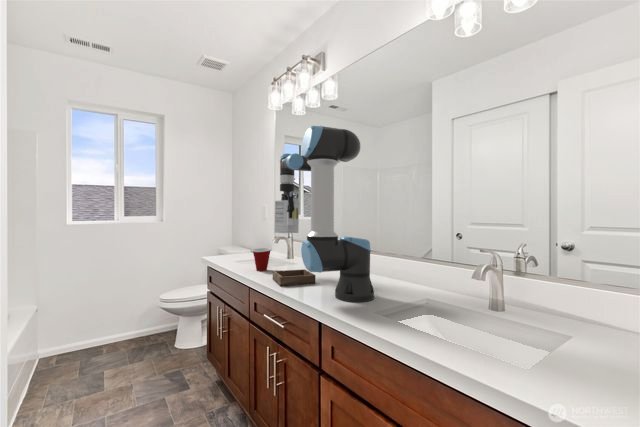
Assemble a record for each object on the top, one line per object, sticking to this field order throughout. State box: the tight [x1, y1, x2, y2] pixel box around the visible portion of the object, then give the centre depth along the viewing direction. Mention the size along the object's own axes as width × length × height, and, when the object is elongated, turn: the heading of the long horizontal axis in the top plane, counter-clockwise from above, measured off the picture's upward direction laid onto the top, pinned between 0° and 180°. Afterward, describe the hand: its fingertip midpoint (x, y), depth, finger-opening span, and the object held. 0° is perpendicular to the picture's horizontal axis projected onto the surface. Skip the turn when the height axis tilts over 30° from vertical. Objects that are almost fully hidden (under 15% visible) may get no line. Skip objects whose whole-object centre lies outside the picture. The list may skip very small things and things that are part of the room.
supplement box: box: [273, 200, 300, 234], centre depth 161 cm, size 10×9×17 cm
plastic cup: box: [251, 247, 272, 272], centre depth 172 cm, size 11×11×12 cm
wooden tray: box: [272, 268, 316, 288], centre depth 144 cm, size 15×16×4 cm
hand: (286, 224), depth 160 cm, fingers closed on supplement box, 12 cm apart
